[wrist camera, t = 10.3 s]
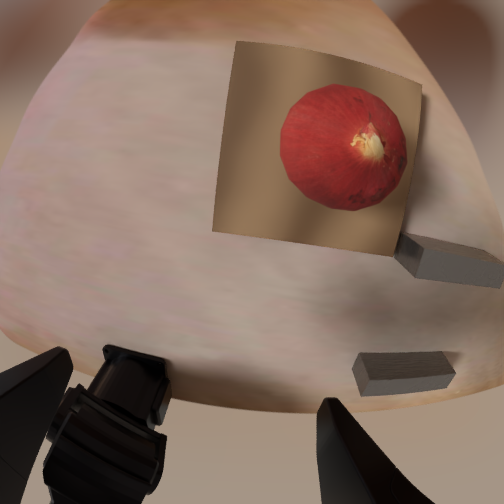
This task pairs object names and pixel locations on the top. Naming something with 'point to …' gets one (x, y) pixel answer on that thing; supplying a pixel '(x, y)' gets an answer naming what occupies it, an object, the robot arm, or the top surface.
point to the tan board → (269, 161)
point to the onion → (343, 147)
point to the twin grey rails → (425, 363)
